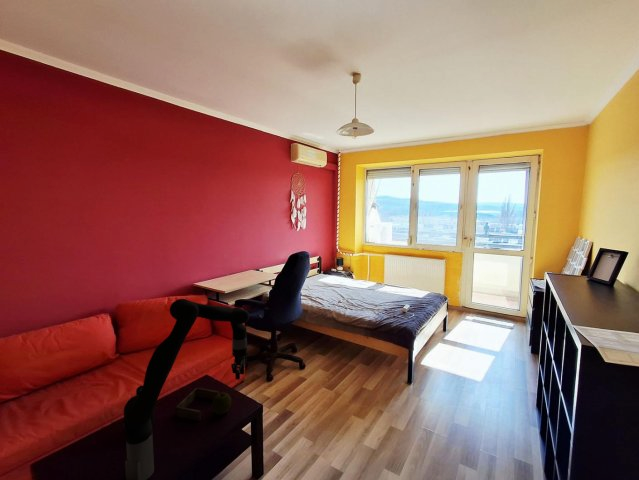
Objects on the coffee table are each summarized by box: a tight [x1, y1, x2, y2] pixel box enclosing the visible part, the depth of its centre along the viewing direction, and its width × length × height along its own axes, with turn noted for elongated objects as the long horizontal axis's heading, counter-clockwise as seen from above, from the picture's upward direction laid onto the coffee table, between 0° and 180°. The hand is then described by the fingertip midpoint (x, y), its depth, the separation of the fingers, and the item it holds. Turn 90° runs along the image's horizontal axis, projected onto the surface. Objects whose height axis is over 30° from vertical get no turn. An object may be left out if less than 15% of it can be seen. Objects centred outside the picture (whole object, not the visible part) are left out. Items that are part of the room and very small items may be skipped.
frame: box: [174, 387, 220, 422], centre depth 164 cm, size 18×14×5 cm
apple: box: [212, 391, 232, 416], centre depth 160 cm, size 10×10×11 cm
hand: (240, 376), depth 156 cm, fingers open, 4 cm apart
